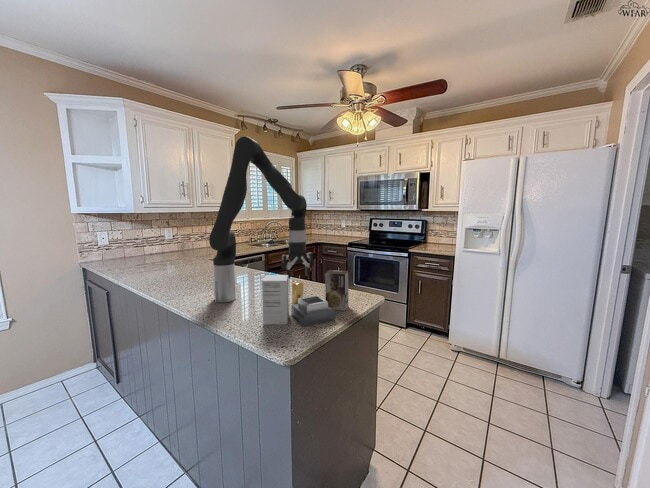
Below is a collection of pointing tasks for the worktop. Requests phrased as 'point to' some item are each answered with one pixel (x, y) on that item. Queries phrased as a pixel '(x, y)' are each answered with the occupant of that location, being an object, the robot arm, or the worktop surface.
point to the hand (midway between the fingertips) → (298, 276)
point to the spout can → (297, 291)
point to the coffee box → (337, 289)
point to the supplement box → (275, 299)
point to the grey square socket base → (312, 311)
